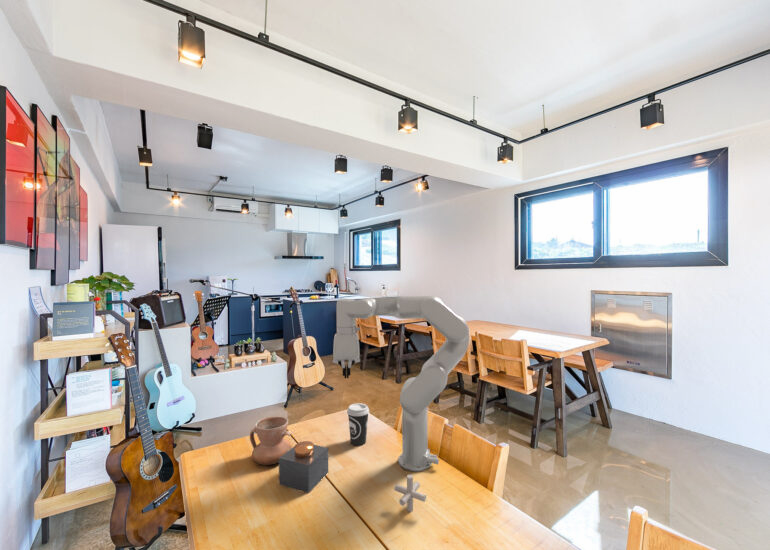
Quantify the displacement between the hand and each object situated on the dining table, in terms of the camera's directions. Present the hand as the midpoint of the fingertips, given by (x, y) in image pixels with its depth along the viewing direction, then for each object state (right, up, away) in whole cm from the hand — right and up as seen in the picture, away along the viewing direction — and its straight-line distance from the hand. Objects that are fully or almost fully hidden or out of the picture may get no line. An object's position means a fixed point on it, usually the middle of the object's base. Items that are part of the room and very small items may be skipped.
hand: (346, 377), depth 130 cm
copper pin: (-13, -30, -14) cm, 36 cm away
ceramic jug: (-29, -31, -1) cm, 43 cm away
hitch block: (-13, -31, -14) cm, 37 cm away
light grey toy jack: (+23, -31, -30) cm, 49 cm away
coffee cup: (+4, -31, +11) cm, 34 cm away
